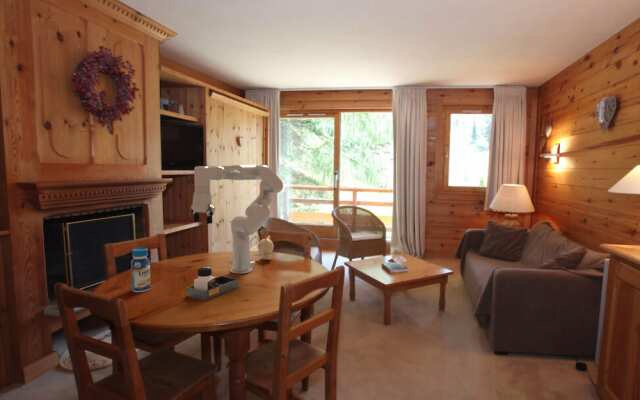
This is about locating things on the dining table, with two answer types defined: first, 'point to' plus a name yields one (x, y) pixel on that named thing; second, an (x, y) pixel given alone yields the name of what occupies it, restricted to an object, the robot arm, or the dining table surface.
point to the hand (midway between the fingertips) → (203, 222)
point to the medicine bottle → (204, 279)
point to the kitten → (265, 248)
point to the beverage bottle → (140, 270)
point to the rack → (221, 287)
